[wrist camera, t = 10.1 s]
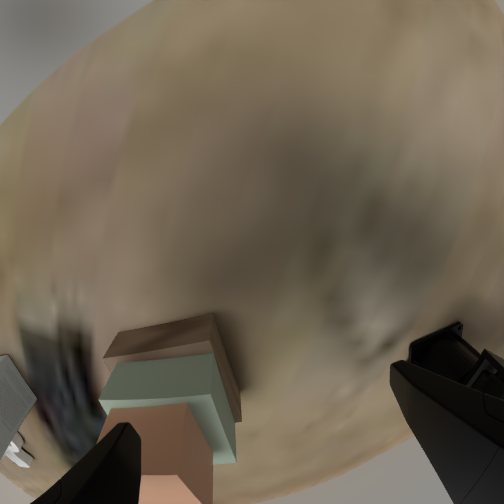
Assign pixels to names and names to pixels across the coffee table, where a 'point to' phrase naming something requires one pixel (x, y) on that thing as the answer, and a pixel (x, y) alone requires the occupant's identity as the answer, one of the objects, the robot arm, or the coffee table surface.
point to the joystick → (18, 452)
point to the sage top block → (178, 395)
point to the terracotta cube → (169, 454)
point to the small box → (12, 401)
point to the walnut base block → (177, 349)
